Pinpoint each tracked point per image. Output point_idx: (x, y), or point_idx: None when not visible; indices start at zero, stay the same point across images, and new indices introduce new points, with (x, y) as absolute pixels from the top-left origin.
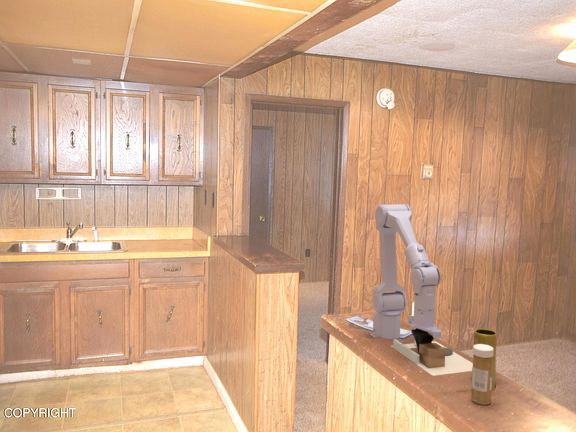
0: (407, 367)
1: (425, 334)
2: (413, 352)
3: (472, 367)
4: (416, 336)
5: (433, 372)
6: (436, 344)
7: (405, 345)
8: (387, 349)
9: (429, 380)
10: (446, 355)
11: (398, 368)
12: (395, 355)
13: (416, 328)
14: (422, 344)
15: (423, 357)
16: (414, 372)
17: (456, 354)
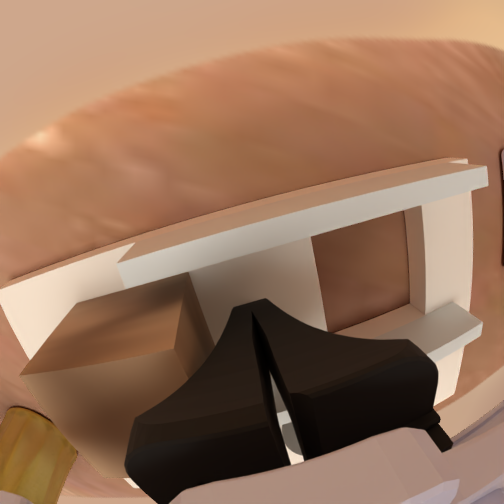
0: (179, 179)
1: (155, 496)
2: (192, 250)
3: (9, 460)
4: (282, 377)
5: (30, 310)
6: None
7: (460, 251)
8: (459, 147)
9: (16, 268)
10: (283, 432)
11: (163, 114)
12: (387, 158)
13: (431, 427)
14: (171, 376)
15: (117, 311)
16: (99, 209)
17: (297, 460)
